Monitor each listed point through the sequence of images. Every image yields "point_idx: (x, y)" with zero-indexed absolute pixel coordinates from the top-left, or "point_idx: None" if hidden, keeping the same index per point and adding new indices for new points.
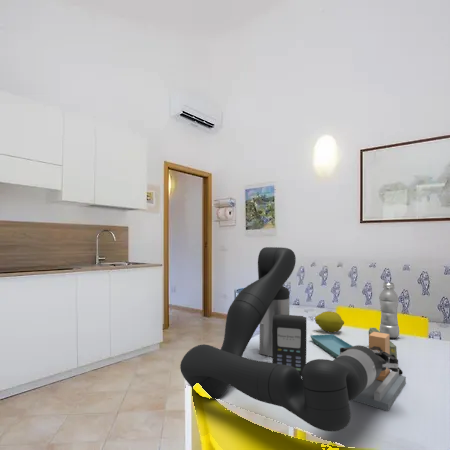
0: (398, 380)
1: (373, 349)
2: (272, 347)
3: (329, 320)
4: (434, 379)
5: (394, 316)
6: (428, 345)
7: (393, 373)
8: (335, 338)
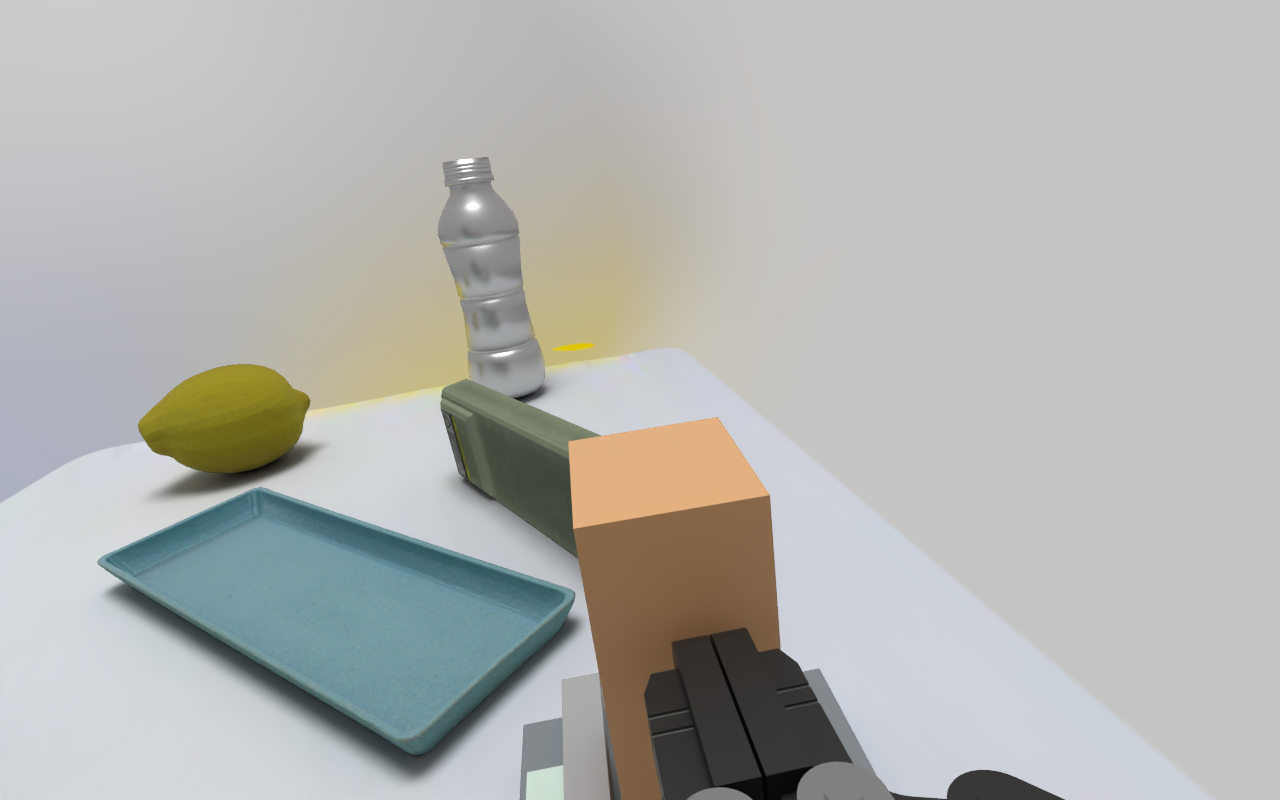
0: None
1: (759, 772)
2: None
3: (223, 416)
4: (872, 561)
5: (518, 304)
6: (654, 378)
7: None
8: (275, 507)
